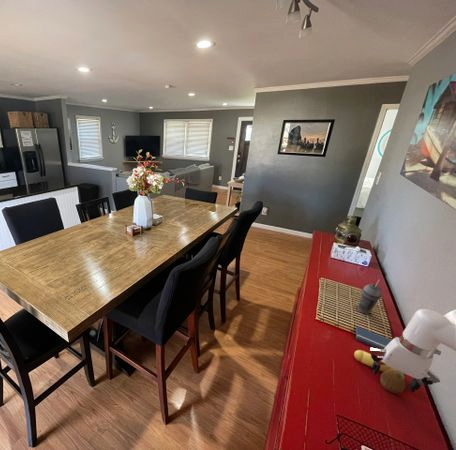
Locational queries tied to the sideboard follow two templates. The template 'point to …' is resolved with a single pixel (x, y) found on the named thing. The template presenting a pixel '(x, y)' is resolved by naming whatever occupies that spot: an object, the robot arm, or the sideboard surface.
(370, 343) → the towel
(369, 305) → the beverage cup
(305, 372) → the sideboard surface
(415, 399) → the sideboard surface
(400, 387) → the fruit
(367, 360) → the corn cob
